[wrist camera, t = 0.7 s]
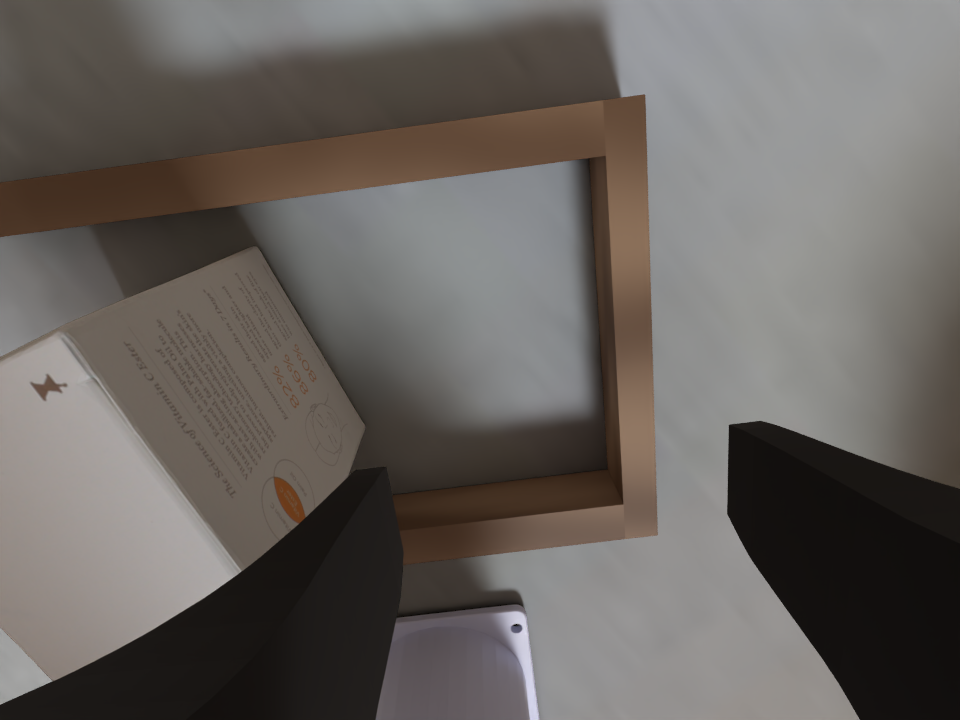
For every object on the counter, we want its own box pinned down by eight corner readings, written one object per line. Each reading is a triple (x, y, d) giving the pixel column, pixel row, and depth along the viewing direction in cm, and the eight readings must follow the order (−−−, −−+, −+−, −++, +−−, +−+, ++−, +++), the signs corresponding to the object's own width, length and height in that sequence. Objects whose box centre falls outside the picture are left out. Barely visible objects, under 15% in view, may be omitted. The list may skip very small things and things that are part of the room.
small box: (128, 307, 20) (-195, 443, 11) (261, 241, 20) (49, 319, 10) (248, 482, 23) (79, 727, 13) (371, 429, 22) (291, 644, 12)
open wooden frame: (638, 497, 23) (657, 535, 21) (136, 557, 24) (100, 600, 22) (622, 103, 18) (644, 94, 16) (-9, 189, 19) (-76, 192, 17)
